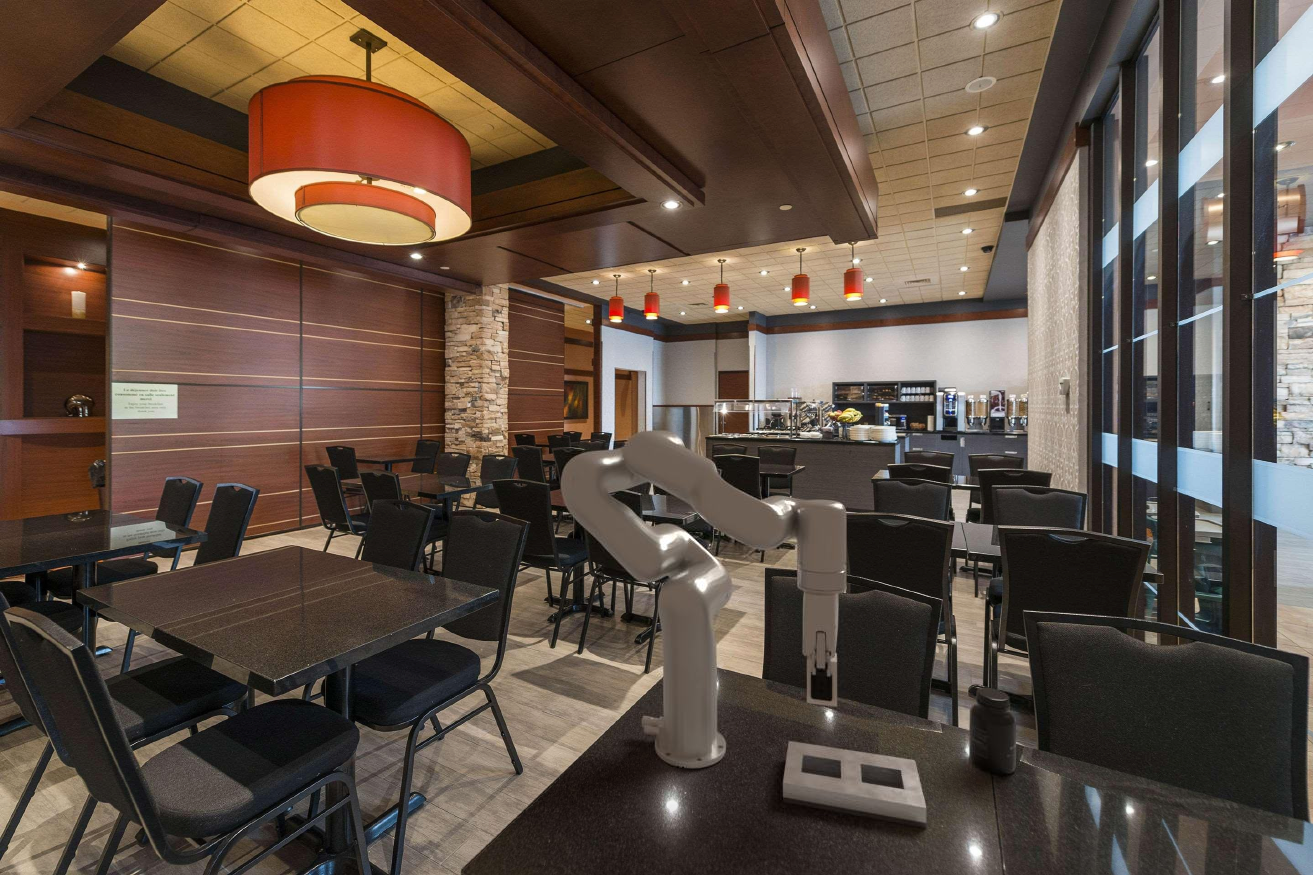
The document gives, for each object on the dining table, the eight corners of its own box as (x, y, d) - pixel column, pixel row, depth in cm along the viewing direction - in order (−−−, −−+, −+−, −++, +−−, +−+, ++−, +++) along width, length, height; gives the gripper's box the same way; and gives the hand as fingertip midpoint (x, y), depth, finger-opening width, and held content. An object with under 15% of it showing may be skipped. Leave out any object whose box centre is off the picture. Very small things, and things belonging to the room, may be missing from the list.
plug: (807, 702, 90) (806, 658, 90) (807, 692, 94) (807, 650, 94) (837, 706, 89) (836, 661, 89) (836, 695, 93) (836, 653, 92)
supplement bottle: (1023, 778, 93) (1023, 705, 93) (977, 773, 94) (977, 701, 94) (1006, 754, 100) (1006, 686, 100) (963, 750, 101) (964, 682, 101)
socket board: (783, 801, 88) (783, 782, 88) (788, 757, 99) (788, 740, 99) (926, 828, 82) (926, 807, 82) (914, 778, 93) (914, 759, 93)
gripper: (800, 564, 100) (800, 668, 100) (793, 591, 84) (794, 715, 85) (845, 567, 98) (845, 674, 98) (847, 595, 82) (847, 722, 82)
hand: (821, 691), depth 91 cm, fingers closed on plug, 3 cm apart
